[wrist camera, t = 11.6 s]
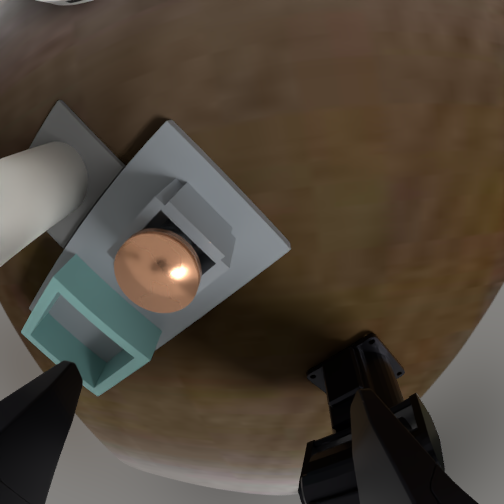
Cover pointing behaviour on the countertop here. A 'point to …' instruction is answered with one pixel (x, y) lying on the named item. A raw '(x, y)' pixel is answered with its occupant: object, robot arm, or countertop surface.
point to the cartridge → (38, 193)
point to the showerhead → (65, 2)
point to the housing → (116, 234)
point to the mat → (95, 159)
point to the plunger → (159, 268)
